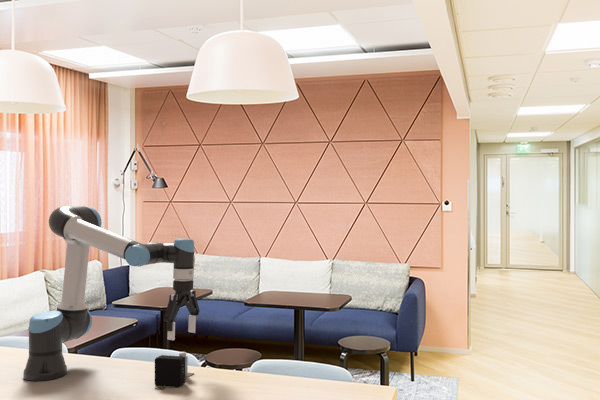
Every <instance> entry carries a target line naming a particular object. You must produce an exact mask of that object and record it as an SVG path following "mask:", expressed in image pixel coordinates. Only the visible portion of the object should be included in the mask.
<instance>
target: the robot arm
mask: <svg viewBox="0 0 600 400" xmlns="http://www.w3.org/2000/svg"><path fill="white" fill-rule="evenodd" d="M48 218H49V219H48V227H49V228H50V230H51V232H52V233H53V234H55V235H57V237H60V238H63V240H64V241H65V242H66V251H65V262H64V273H63V281H62V282H63V283H62V292H61V293H62V294H61V295H62V296H61V302H60V303H59V304H58V305H57V306H56V310H47V311H42V312H38V313H36V314H34V315H32V316H31V317H30V319H29V325H28V358H27V362H26V365H25V368H24V369H23V374H22V375H23V380H26V381H29V382H31V381H32V382H41V381H42V382H43V381H44V382H45V381H50V380H56V379H59V378H62V377H64V376H66V375H67V374H68V366H67V365H66V360H65V358H64V354H63V343H66V342H70V341H72V340H78V339H79V338H81V337H83V336H85V335H87V334H88V332H89V331H90V330H91V328H92V325H93V316H92V314H91V312H90V310H89V306H88V305H87V303H85V300H86V299H85V298H86V287H87V279H88V278H87V277H88V269H89V267H88V266H89V257H90V246H91V247H93V248H95V249H98V250H100V251H103V252H105V253H107V254H110V255H112V256H115V257H118V258H119V259H122V260H125V261H126V263H127V264H128V265H129V266H131V267H142V266H147V265H154V264H160V263H162V264H163V263H165V264H173V271H172V272H173V274H172V278H173V281H172V290H173V291H174V292H175V293H174V294H172V293H171V294H169V299H168V303H167V306H166V310H165V314H164V317H163V321H164V322H166V323H167V325H166V326H167V327H166V329H167V336H166V338H167V340H169V341H175V339H176V337H175V336H176V322H175V320H176V317H177V315H178V313H179V311H180V309H181V307H183V306H184V305H185V307H186V309H187V310H188V313H189V315H188V324H187V325H188V326H187V327H188V328H187V332H188V333H193V334H196V322H197V321H196V319H197V316H199V315H200V307H199V304H198V303H199V302H198V300H197V296H196V292H197V291H196V290H194V280H193V279H194V272H195V271H194V268H195V266H194V264H195V240H194V239H192V238H183V237H181V238H175V239H174V241H173V243H170V242H169V243H168V242H158V241H156V242H155V241H153V242H147V243H146V244H145V243H141V242H139V241H135V239H134V240H133V239H131V238H128V237H126V236H123V235H121V234H118V233H116V232H113V231H110V230H109V229H105V228H103V227H102V217H101V215H100V213H99V212H98V211H97V210H96V209H95V208H93V207H90V206H85V205H81V206H80V205H79V206H77V205H75V206H74V205H73V206H72V205H71V206H67V205H65V206H60V207H57V208H56V209H54V210H53V211H52V212H51V214H50V215H49V217H48Z"/></svg>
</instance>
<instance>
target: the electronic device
mask: <svg viewBox="0 0 600 400" xmlns="http://www.w3.org/2000/svg"><path fill="white" fill-rule="evenodd" d="M185 384H186V378H185V357H183V356H179V355H167V354H165V355H164V354H161V355H159V356H157V357H155V358H154V385H155V386H156V387H165V388H166V387H167V388H175V389H176V388H180V387H182V386H183V385H185Z"/></svg>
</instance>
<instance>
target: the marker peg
mask: <svg viewBox="0 0 600 400" xmlns="http://www.w3.org/2000/svg"><path fill="white" fill-rule="evenodd" d="M178 356H183V357H185V379H187V378H188V377H187V376H188V373H189V372H188V371H189V369H188V363H189V362H188V360H189V359H188V355H187V352H186V351H179V353H178ZM186 377H187V378H186Z"/></svg>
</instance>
